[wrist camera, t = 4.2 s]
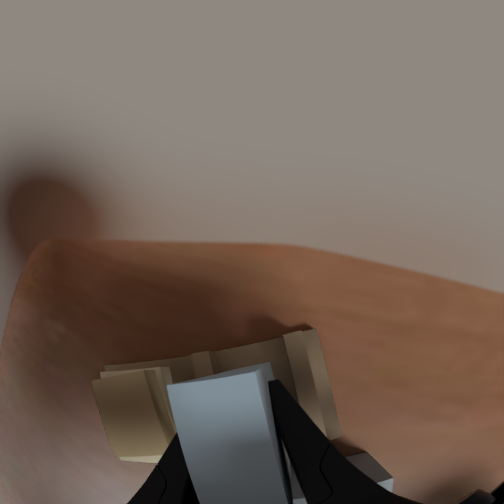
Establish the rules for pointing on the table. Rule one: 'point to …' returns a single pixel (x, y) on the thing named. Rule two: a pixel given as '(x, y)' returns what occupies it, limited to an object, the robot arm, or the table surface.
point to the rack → (197, 366)
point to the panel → (232, 437)
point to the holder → (362, 463)
